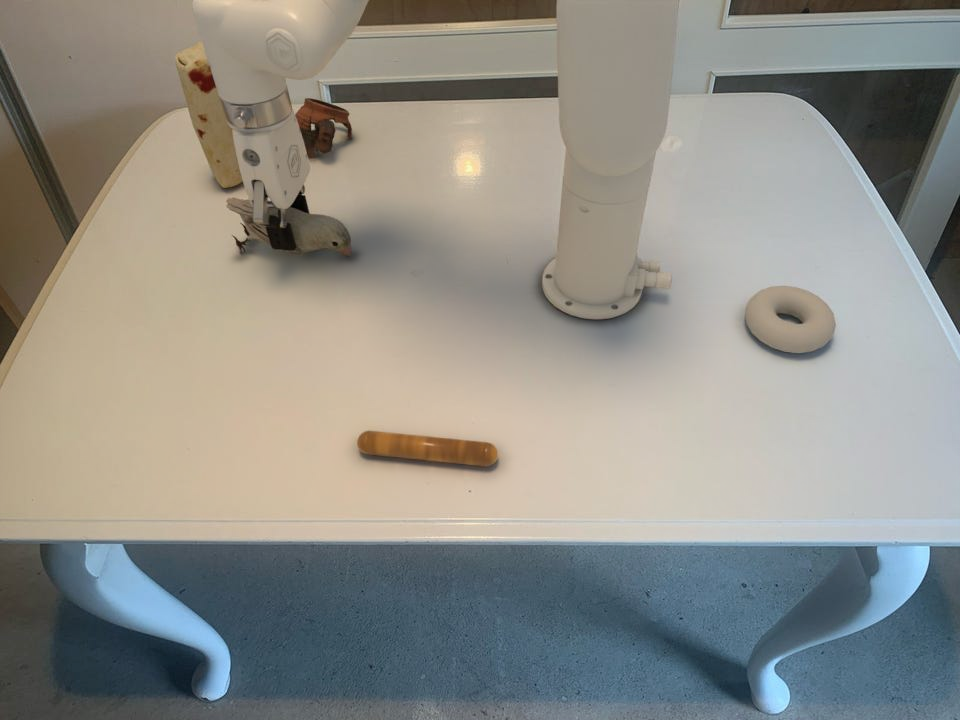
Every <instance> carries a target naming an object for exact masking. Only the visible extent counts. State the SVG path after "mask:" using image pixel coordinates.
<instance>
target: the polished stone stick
mask: <svg viewBox="0 0 960 720" xmlns="http://www.w3.org/2000/svg"><path fill="white" fill-rule="evenodd" d="M356 445H357V448H358V451H360V452H361V453H363V454H365V455H369V456H380V457H390V458H399V459H400V458H401V459H409V460H420V461H430V462H439V463H449V464H459V465H460V464H461V465H469V466H479V467H490V466H492V465H493V464H495V463H496V462H497V460H498V456H499V452H498V449H497V447H496V446H495V444H494V443H491V442H488V441H479V440H469V439H459V438H448V437H438V436H430V435H429V436H428V435H418V434H410V433H409V434H407V433H397V432H387V431H379V430H378V431H377V430H365V431H363V432H362V433H360V434H359V436H358V438H357V440H356Z"/></svg>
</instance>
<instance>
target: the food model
mask: <svg viewBox="0 0 960 720" xmlns="http://www.w3.org/2000/svg"><path fill="white" fill-rule="evenodd" d="M174 63H175V66H176V71H177V74H178V77H179V82H180V85H181V88H182V91H183V95H184V98H185V102H186V106H187V109H188V113H189V118H190V120H191V124H192V127H193V130H194V132H195V134H196V136H197V140H198V142H199V144H200V146H201V148H202V151H203V154H204V156H205V158H206V161H207V163H208V166H209V168H210V170H211V172H212V174H213V175H214V176H213V177H214V178H215V180H216V182H217V183H218V184H219V185H220V186H221V187H222V188H223V189H226V188H231V187H235V186H238V185H239V184H241V183H243V180H242V177H241V173H240V169H239V165H238V160H237V156H236V151H235V145H234V140H233V134H232V128H231V127H229V125H228V123H227V120H226V117H225V114H224V111H223V107H222V104H221V101H220V98H219V94H218V91H217V88H216V85H215V82H214V78H213V75H212V72H211V69H210V65H209V62H208V59H207V56H206V53H205V49H204V46H203V43H202V40H201V41H199V42H198V43H196V44H195V45H193V46H191V47H188V48H186V49H184V50H183V49H181V50H179V51H178V52H177V53H175V56H174Z"/></svg>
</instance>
